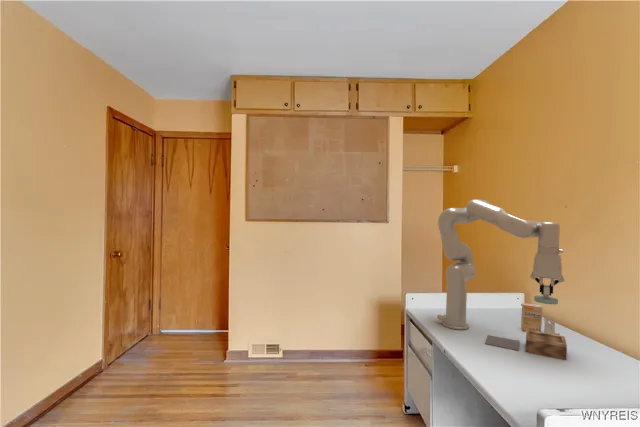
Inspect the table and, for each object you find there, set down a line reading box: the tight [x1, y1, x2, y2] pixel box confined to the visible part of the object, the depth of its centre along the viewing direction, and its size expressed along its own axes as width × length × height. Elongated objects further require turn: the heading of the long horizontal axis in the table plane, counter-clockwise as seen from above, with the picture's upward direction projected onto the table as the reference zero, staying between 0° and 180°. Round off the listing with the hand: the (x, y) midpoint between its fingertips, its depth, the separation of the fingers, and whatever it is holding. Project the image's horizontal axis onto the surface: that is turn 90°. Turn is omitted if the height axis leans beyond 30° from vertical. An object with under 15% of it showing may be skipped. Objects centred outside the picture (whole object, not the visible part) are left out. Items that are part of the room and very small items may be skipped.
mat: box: [484, 334, 520, 352], centre depth 158 cm, size 13×13×1 cm
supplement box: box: [520, 302, 543, 332], centre depth 177 cm, size 8×5×13 cm, turn 68°
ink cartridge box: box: [543, 315, 561, 336], centre depth 164 cm, size 2×11×10 cm, turn 168°
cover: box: [533, 284, 559, 305], centre depth 150 cm, size 8×8×7 cm
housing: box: [525, 330, 568, 361], centre depth 150 cm, size 14×12×6 cm
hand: (546, 294), depth 150 cm, fingers closed on cover
